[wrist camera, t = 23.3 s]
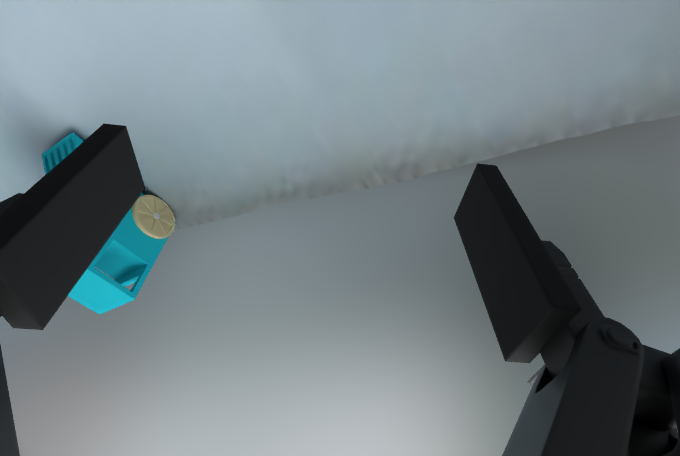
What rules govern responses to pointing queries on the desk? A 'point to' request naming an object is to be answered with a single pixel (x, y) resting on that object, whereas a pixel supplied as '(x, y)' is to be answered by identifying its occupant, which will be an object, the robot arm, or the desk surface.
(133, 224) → the toy train
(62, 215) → the robot arm
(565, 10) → the desk surface
